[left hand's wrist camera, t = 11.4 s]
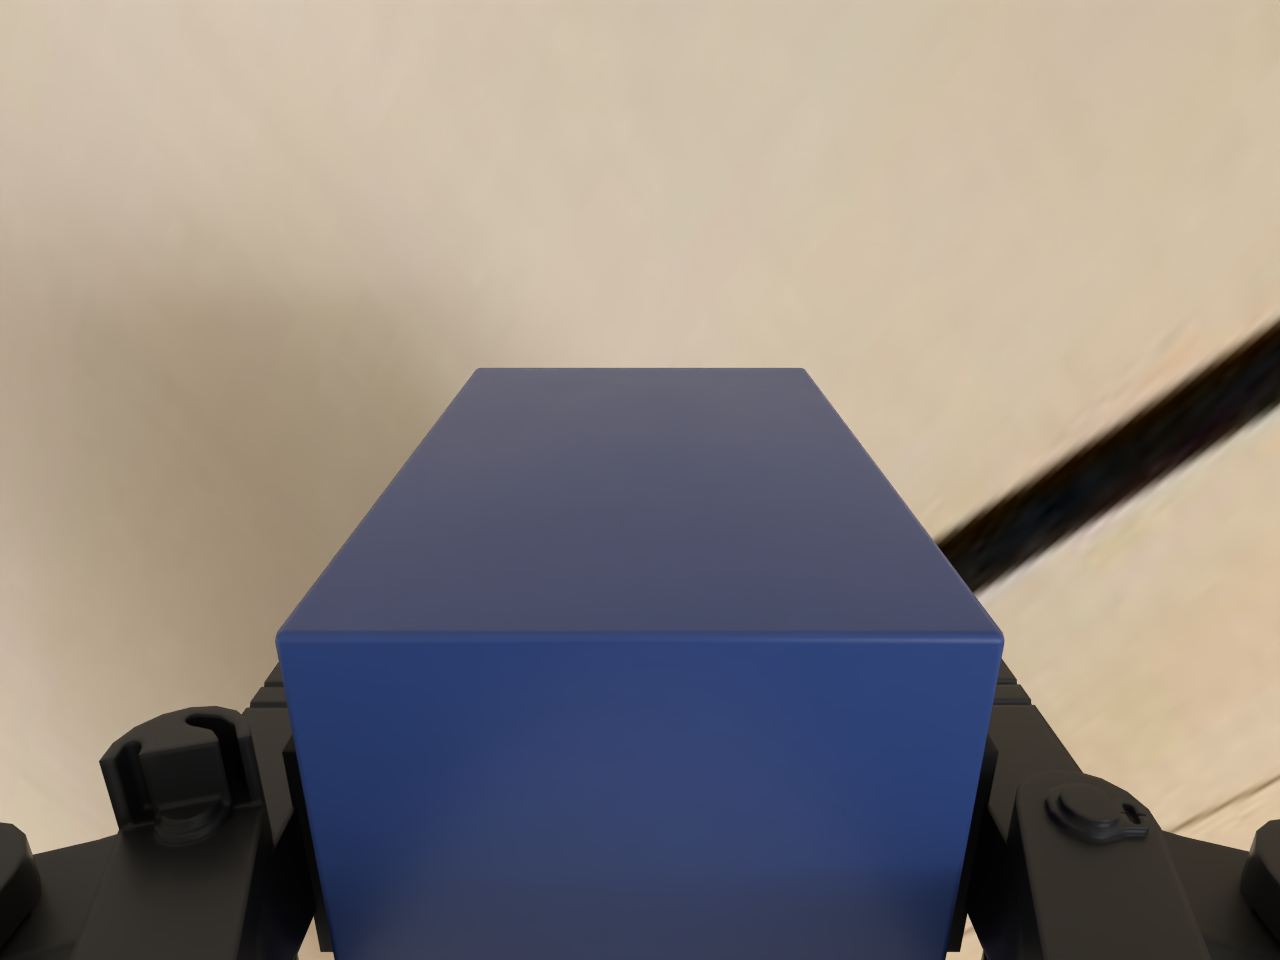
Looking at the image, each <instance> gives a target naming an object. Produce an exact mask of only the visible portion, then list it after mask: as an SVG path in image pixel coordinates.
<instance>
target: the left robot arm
mask: <svg viewBox="0 0 1280 960" xmlns="http://www.w3.org/2000/svg"><path fill="white" fill-rule="evenodd" d="M264 683H265V685H264V687H261V688H260V689H259V691H258V692H257V694H256V695H255V696H254V698H253V699H252V701H251V702H250V708H246V709H245V711H244V712H243V713H242V715H241V714H240V713H239V712H238V711H236V710H231V709H227V708H223V707H218V706H208V707H190V708H186V709H182V710H178V711H174V712H171V713H167V714H163V715H160V716H158V717H156V718H154V719H152V720H149V721H147V722H145V723H143V724H141V725H138V726H136V727H134V728H133V729H132V730H130V731H129V732H128V733H126V734H125V735H124V736H122V737H121V738H119V739H118V740H117V741H115V742H114V743H113V744H112V745H111V746H110V748H109V749H108V750H107V752H106V753H105V754H104V756H103V757H102V758H101V759H100V761H99V763H100V766H101V769H102V773H103V776H104V780H105V783H106V786H107V790H108V793H109V797H110V800H111V803H112V807H113V810H114V814H115V817H116V820H117V824H118V827H119V831H118V834H116V835H113V836H110V837H106V838H103V839H100V840H96V841H91V842H87V843H83V844H78V845H74V846H69V847H65V848H61V849H56V850H52V851H48V852H43V853H39V854H35V855H32V852H31V849H30V846H29V843H28V840H27V838H26V835H25V834H24V833H23V832H22V831H21V830H19V829H18V828H17V827H15V826H14V825H13V824H8V823H0V960H299V959H298V951H299V949H300V947H301V944H302V942H303V940H304V937H305V935H306V933H307V930H308V928H309V925H310V923H311V921H312V918H313V916H314V920H315V925H316V930H317V935H318V940H319V945H320V951H321V952H333V948H332V942H331V937H330V932H329V926H328V921H327V916H326V910H325V905H324V900H323V894H322V889H321V884H320V878H319V873H318V867H317V862H316V857H315V851H314V846H313V841H312V835H311V830H310V825H309V819H308V814H307V808H306V803H305V798H304V792H303V787H302V782H301V776H300V771H299V766H298V760H297V755H296V750H295V744H294V739H293V733H292V728H291V723H290V717H289V712H288V707H287V701H286V696H285V691H284V685H283V680H282V674H281V669H280V664H279V663H278V664H277V665H276V667H275V668H274V670H273V671H272V672H271V674H270V675H269V677H268V678H267V680H266V681H265V682H264ZM967 913H968V915H969V918H970V920H971V922H972V925H973V927H974V929H975V932H976V934H977V936H978V939H979V941H980V943H981V946H982V948H983V954H982V959H981V960H1280V819H1279V820H1271V821H1269V822H1267V823H1266V824H1265V825H1264V826H1262V827H1261V828H1260V829H1258V830H1257V831H1256V834H1255V837H1254V840H1253V843H1252V845H1251V848H1250V851H1249V852H1248V851H1244V850H1239V849H1235V848H1231V847H1226V846H1222V845H1217V844H1213V843H1209V842H1204V841H1200V840H1196V839H1191V838H1187V837H1183V836H1179V835H1176V834H1173V833H1169V832H1166V831H1163V830H1161V828H1160V826H1159V825H1158V823H1157V822H1156V820H1155V819H1154V817H1153V815H1152V814H1151V812H1150V811H1149V809H1148V808H1146V807H1145V806H1144V805H1143V804H1141V803H1140V802H1139V801H1138V800H1137V799H1135V798H1134V797H1133V796H1132V795H1131V794H1129V793H1128V792H1127V791H1125V790H1123V789H1121V788H1119V787H1117V786H1115V785H1113V784H1111V783H1109V782H1107V781H1105V780H1104V779H1102V778H1098V777H1095V776H1091V775H1088V774H1084V773H1083V772H1082V771H1081V769H1080V768H1079V767H1078V765H1077V764H1076V762H1075V761H1074V759H1073V758H1072V757H1071V755H1070V754H1069V752H1068V751H1067V750H1066V748H1065V747H1064V745H1063V744H1062V743H1061V741H1060V740H1059V738H1058V737H1057V736H1056V734H1055V733H1054V731H1053V730H1052V729H1051V727H1050V726H1049V724H1048V723H1047V722H1046V720H1045V719H1044V717H1043V716H1042V715H1041V713H1040V712H1039V710H1038V709H1037V707H1036V706H1035V705H1032V704H1031V699H1030V698H1029V696H1028V695H1027V693H1026V692H1025V691H1024V689H1023V688H1022V686H1021V685H1020V684H1017V679H1016V678H1015V677H1014V675H1013V674H1012V672H1011V671H1010V670H1009V668H1008V667H1007V665H1006V664H1005V662H1004V661H1003V660H1002V658H1001V663H1000V668H999V674H998V679H997V685H996V690H995V695H994V701H993V706H992V711H991V717H990V722H989V728H988V733H987V738H986V744H985V749H984V754H983V760H982V765H981V771H980V776H979V781H978V787H977V792H976V797H975V803H974V808H973V814H972V819H971V824H970V830H969V835H968V840H967V846H966V851H965V857H964V862H963V867H962V873H961V878H960V883H959V889H958V894H957V900H956V905H955V910H954V916H953V921H952V926H951V932H950V937H949V943H948V948H947V952H960V948H961V943H962V938H963V933H964V928H965V923H966V918H967Z"/></svg>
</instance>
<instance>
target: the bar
mask: <svg viewBox="0 0 1280 960" xmlns="http://www.w3.org/2000/svg"><path fill="white" fill-rule="evenodd" d="M1003 647H1004V636H1003V633H1002V631H1001V630H1000V629H999V627H998V626H997V625H996V623H995V622H994V621H993V619H992V618H991V617H990V615H989V614H988V613H987V611H986V610H985V609H984V607H983V606H982V605H981V604H980V602H979V601H978V600H977V598H976V597H975V596H974V594H973V593H972V592H971V590H970V589H969V588H968V586H967V585H966V584H965V582H964V581H963V580H962V578H961V577H960V576H959V574H958V573H957V572H956V570H955V569H954V568H953V566H952V565H951V564H950V562H949V561H948V560H947V558H946V557H945V556H944V554H943V553H942V552H941V550H940V549H939V548H938V546H937V545H936V544H935V542H934V541H933V540H932V538H931V537H930V536H929V534H928V533H927V532H926V530H925V529H924V528H923V526H922V525H921V524H920V522H919V521H918V520H917V518H916V517H915V516H914V514H913V513H912V512H911V510H910V509H909V508H908V506H907V505H906V504H905V502H904V501H903V500H902V498H901V497H900V496H899V494H898V493H897V492H896V490H895V489H894V488H893V486H892V485H891V484H890V482H889V481H888V480H887V478H886V477H885V476H884V474H883V473H882V472H881V470H880V469H879V468H878V466H877V465H876V464H875V462H874V461H873V460H872V458H871V457H870V456H869V454H868V453H867V452H866V450H865V449H864V448H863V446H862V445H861V444H860V442H859V441H858V440H857V438H856V437H855V436H854V434H853V433H852V432H851V430H850V429H849V428H848V426H847V425H846V424H845V422H844V421H843V420H842V418H841V417H840V416H839V414H838V413H837V412H836V410H835V409H834V408H833V406H832V405H831V404H830V402H829V401H828V400H827V399H826V397H825V396H824V395H823V393H822V392H821V391H820V389H819V388H818V387H817V385H816V384H815V383H814V381H813V380H812V379H811V377H810V376H809V375H808V373H807V372H806V371H805V369H803V368H479V369H476V371H475V372H474V373H473V375H472V376H471V377H470V379H469V380H468V381H467V383H466V384H465V385H464V387H463V388H462V389H461V390H460V392H459V393H458V394H457V396H456V397H455V398H454V400H453V401H452V402H451V404H450V405H449V406H448V408H447V409H446V410H445V412H444V413H443V414H442V416H441V417H440V418H439V420H438V421H437V422H436V423H435V425H434V426H433V427H432V429H431V430H430V431H429V433H428V434H427V435H426V437H425V438H424V439H423V441H422V442H421V443H420V445H419V446H418V447H417V449H416V450H415V451H414V453H413V454H412V455H411V457H410V458H409V459H408V460H407V462H406V463H405V464H404V466H403V467H402V468H401V470H400V471H399V472H398V474H397V475H396V476H395V478H394V479H393V480H392V482H391V483H390V484H389V486H388V487H387V488H386V490H385V491H384V492H383V493H382V495H381V496H380V497H379V499H378V500H377V501H376V503H375V504H374V505H373V507H372V508H371V509H370V511H369V512H368V513H367V515H366V516H365V517H364V519H363V520H362V521H361V523H360V524H359V525H358V526H357V528H356V529H355V530H354V532H353V533H352V534H351V536H350V537H349V538H348V540H347V541H346V542H345V544H344V545H343V546H342V548H341V549H340V550H339V552H338V553H337V554H336V556H335V557H334V558H333V559H332V561H331V562H330V563H329V565H328V566H327V567H326V569H325V570H324V571H323V573H322V574H321V575H320V577H319V578H318V579H317V581H316V582H315V583H314V585H313V586H312V587H311V589H310V590H309V591H308V592H307V594H306V595H305V596H304V598H303V599H302V600H301V602H300V603H299V604H298V606H297V607H296V608H295V610H294V611H293V612H292V614H291V615H290V616H289V618H288V619H287V620H286V622H285V623H284V624H283V625H282V627H281V628H280V629H279V631H278V632H277V635H276V648H277V653H278V658H279V664H280V669H281V674H282V680H283V685H284V691H285V696H286V701H287V707H288V712H289V717H290V723H291V728H292V733H293V739H294V744H295V750H296V755H297V760H298V766H299V771H300V776H301V782H302V787H303V792H304V798H305V803H306V808H307V814H308V819H309V825H310V830H311V835H312V841H313V846H314V851H315V857H316V862H317V867H318V873H319V878H320V884H321V889H322V894H323V900H324V905H325V910H326V916H327V921H328V926H329V932H330V937H331V942H332V948H333V953H334V959H335V960H945V959H946V953H947V948H948V943H949V937H950V932H951V926H952V921H953V916H954V910H955V905H956V900H957V894H958V889H959V883H960V878H961V873H962V867H963V862H964V857H965V851H966V846H967V840H968V835H969V830H970V824H971V819H972V814H973V808H974V803H975V797H976V792H977V787H978V781H979V776H980V771H981V765H982V760H983V754H984V749H985V744H986V738H987V733H988V728H989V722H990V717H991V711H992V706H993V701H994V695H995V690H996V685H997V679H998V674H999V668H1000V663H1001V658H1002V652H1003Z"/></svg>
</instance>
